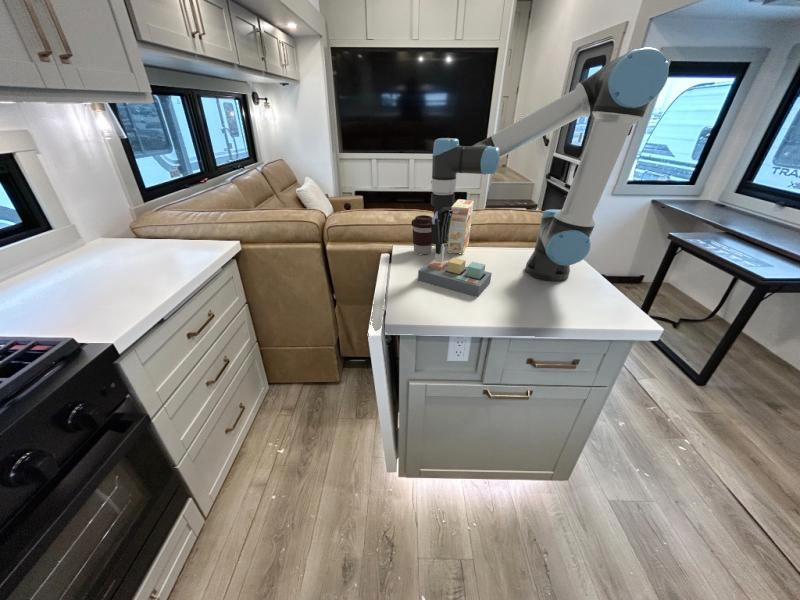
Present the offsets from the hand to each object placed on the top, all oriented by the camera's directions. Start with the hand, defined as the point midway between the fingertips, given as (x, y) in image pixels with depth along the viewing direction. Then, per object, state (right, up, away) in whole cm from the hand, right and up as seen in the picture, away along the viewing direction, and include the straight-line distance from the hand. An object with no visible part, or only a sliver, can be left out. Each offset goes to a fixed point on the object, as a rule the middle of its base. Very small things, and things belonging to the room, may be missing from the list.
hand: (439, 261), depth 114 cm
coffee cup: (-4, +7, +24) cm, 25 cm away
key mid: (+6, -3, -2) cm, 7 cm away
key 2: (+12, -5, -5) cm, 14 cm away
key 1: (0, -4, +2) cm, 4 cm away
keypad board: (+5, -7, -1) cm, 9 cm away
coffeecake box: (+12, +9, +28) cm, 32 cm away
